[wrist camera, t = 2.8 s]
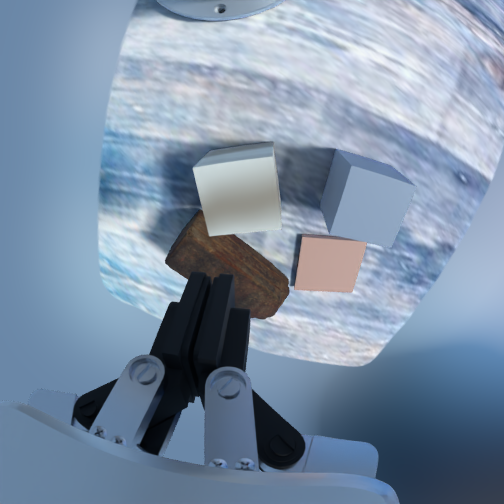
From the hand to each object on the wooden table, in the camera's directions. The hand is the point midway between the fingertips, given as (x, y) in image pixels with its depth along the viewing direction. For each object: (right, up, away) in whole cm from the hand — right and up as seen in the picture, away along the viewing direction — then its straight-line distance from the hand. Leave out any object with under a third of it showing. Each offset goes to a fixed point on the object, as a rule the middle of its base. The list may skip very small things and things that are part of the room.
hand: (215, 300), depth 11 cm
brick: (0, +2, +15) cm, 15 cm away
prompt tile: (+9, +1, +14) cm, 17 cm away
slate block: (+10, +7, +10) cm, 16 cm away
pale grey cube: (+1, +8, +10) cm, 13 cm away
